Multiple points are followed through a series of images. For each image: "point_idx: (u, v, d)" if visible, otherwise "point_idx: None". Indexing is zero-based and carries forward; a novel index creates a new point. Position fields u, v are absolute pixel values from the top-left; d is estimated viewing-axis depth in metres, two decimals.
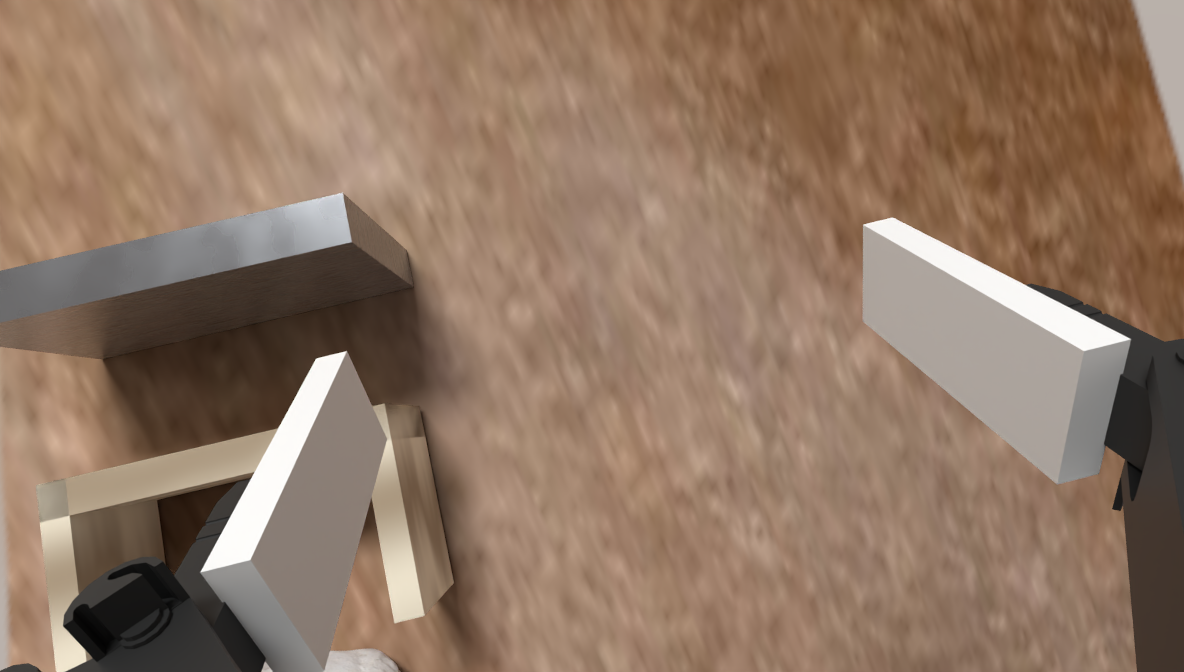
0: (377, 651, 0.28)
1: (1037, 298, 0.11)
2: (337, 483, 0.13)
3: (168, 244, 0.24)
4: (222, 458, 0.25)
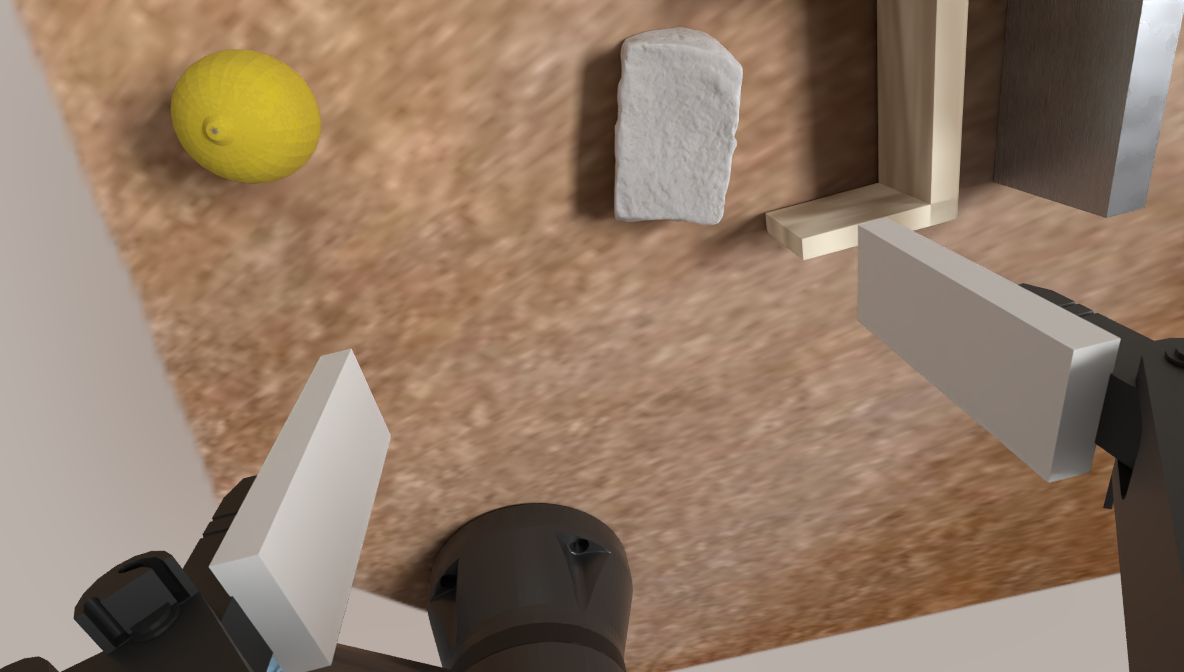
0: None
1: (1028, 298, 0.11)
2: (342, 479, 0.13)
3: (1163, 65, 0.28)
4: (950, 87, 0.30)
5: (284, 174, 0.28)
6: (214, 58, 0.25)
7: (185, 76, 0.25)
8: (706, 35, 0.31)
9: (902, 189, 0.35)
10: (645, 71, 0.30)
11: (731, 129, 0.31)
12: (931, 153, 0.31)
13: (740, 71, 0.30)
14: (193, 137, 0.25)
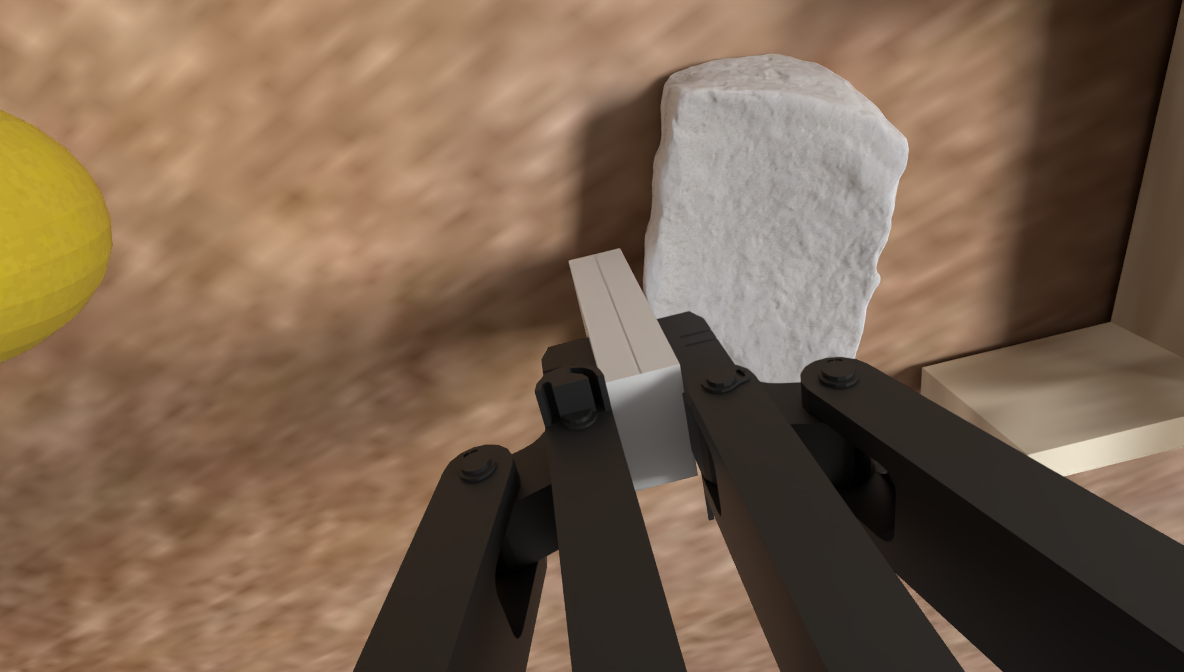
0: None
1: (651, 326, 0.13)
2: None
3: None
4: None
5: None
6: None
7: None
8: (827, 72, 0.16)
9: (1178, 349, 0.20)
10: (712, 141, 0.15)
11: (874, 256, 0.16)
12: None
13: (905, 149, 0.15)
14: None
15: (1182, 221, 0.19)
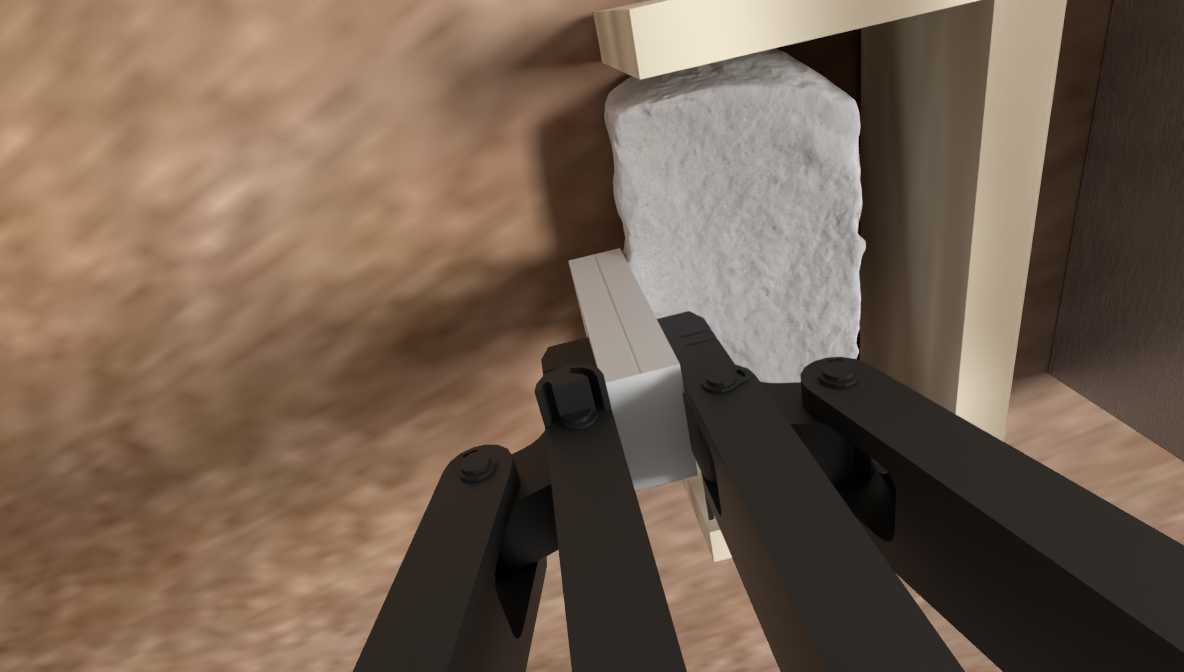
0: None
1: (651, 326, 0.13)
2: None
3: None
4: (999, 285, 0.15)
5: None
6: None
7: None
8: None
9: None
10: (658, 153, 0.15)
11: (852, 223, 0.16)
12: (956, 393, 0.16)
13: (855, 112, 0.14)
14: None
15: (886, 290, 0.19)
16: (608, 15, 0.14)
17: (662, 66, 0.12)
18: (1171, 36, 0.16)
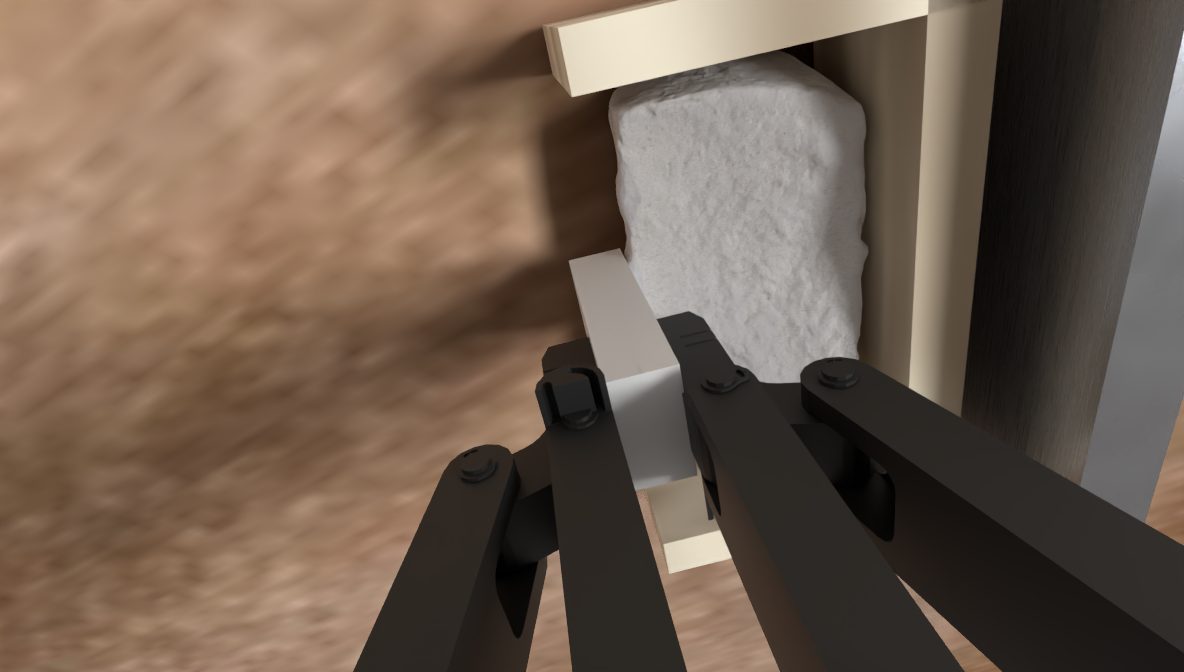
0: None
1: (651, 326, 0.13)
2: None
3: (1178, 348, 0.13)
4: (945, 299, 0.15)
5: None
6: None
7: None
8: None
9: None
10: (662, 153, 0.15)
11: (856, 228, 0.15)
12: None
13: (861, 116, 0.14)
14: None
15: None
16: (549, 30, 0.14)
17: (594, 84, 0.12)
18: None
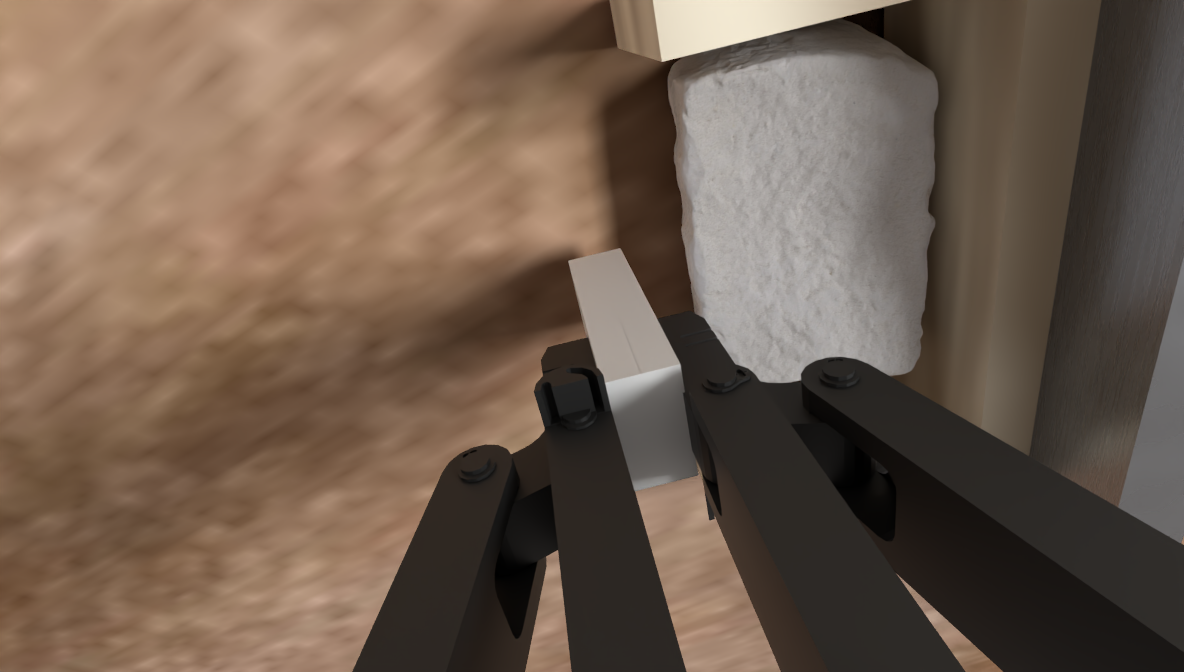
0: None
1: (652, 326, 0.13)
2: None
3: None
4: (1030, 271, 0.14)
5: None
6: None
7: None
8: (834, 20, 0.15)
9: None
10: (727, 126, 0.15)
11: (923, 199, 0.15)
12: (984, 384, 0.16)
13: (934, 83, 0.14)
14: None
15: None
16: None
17: (685, 47, 0.11)
18: None
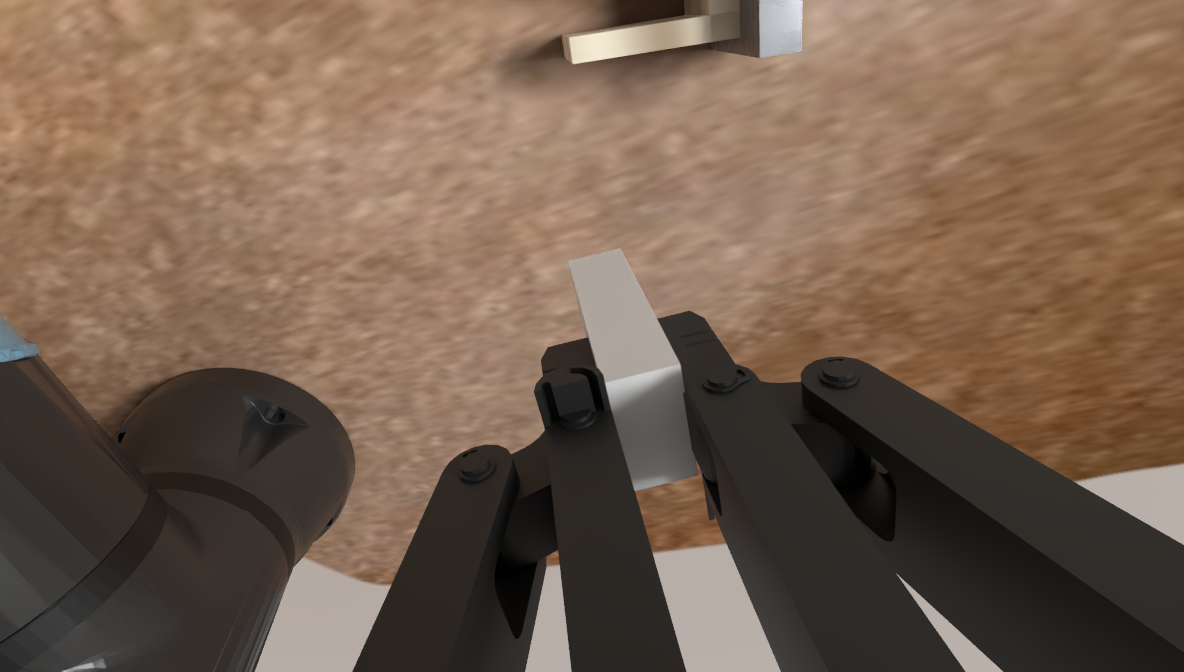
0: None
1: (652, 326, 0.13)
2: None
3: None
4: None
5: None
6: None
7: None
8: None
9: (696, 10, 0.33)
10: None
11: None
12: None
13: None
14: None
15: None
16: None
17: None
18: None
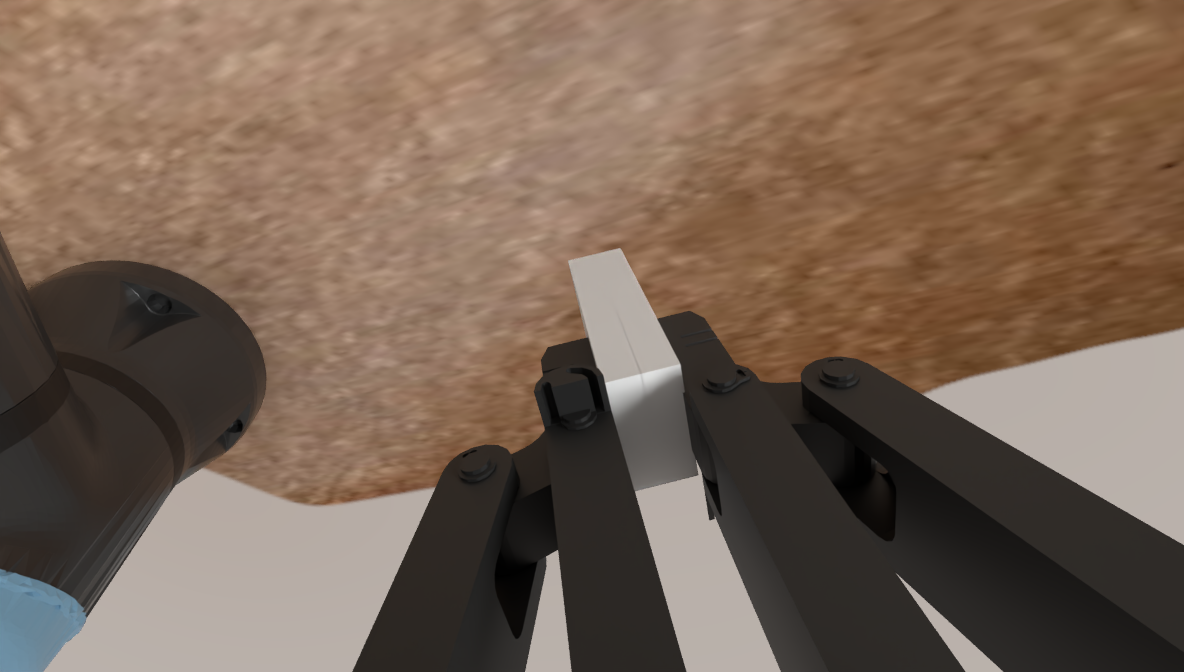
0: None
1: (652, 326, 0.13)
2: None
3: None
4: None
5: None
6: None
7: None
8: None
9: None
10: None
11: None
12: None
13: None
14: None
15: None
16: None
17: None
18: None
